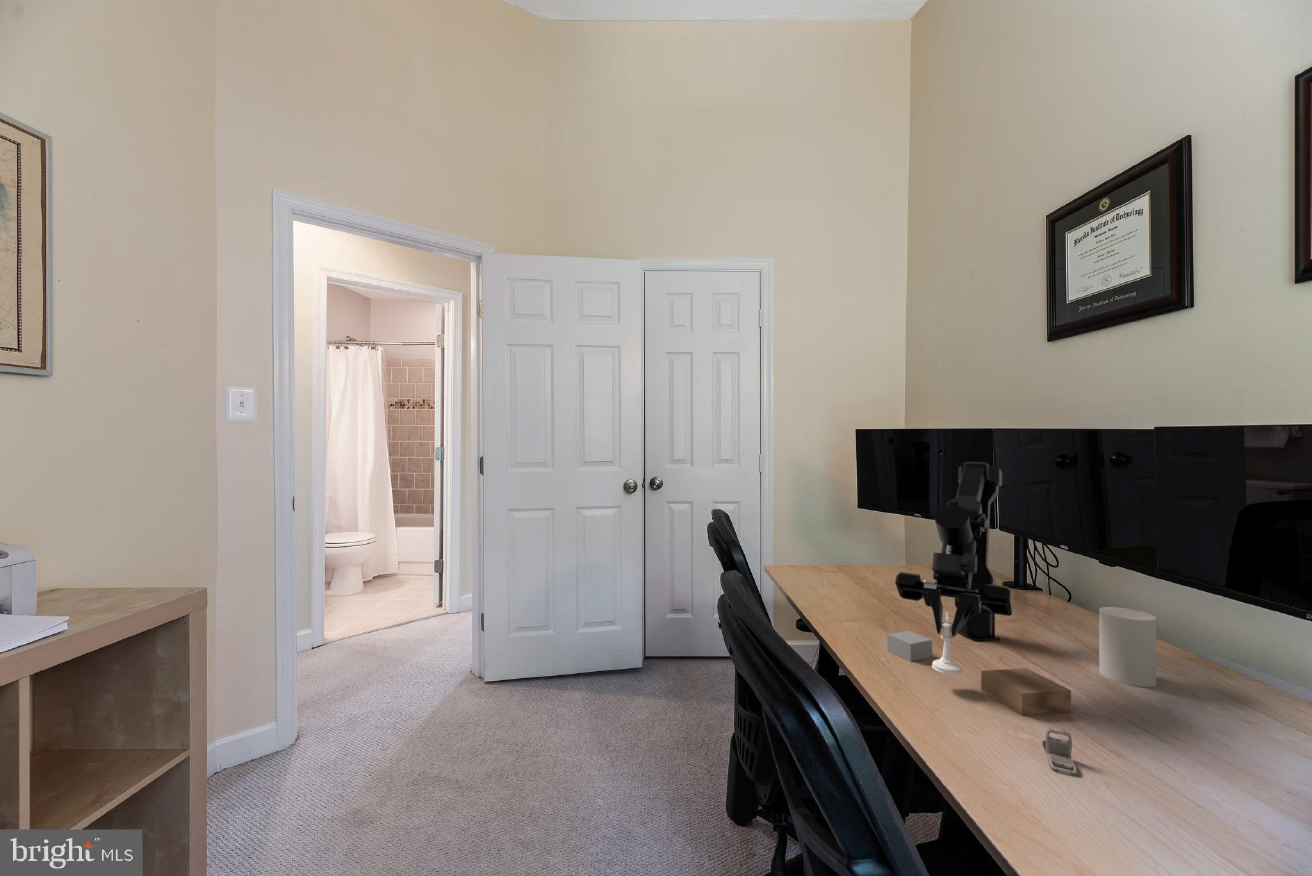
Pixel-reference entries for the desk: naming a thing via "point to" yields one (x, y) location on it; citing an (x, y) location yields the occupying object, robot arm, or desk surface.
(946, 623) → the chess piece
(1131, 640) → the white cylinder
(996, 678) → the walnut block
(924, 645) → the slate block
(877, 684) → the desk surface
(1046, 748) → the grey sandwich maker
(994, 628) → the robot arm
